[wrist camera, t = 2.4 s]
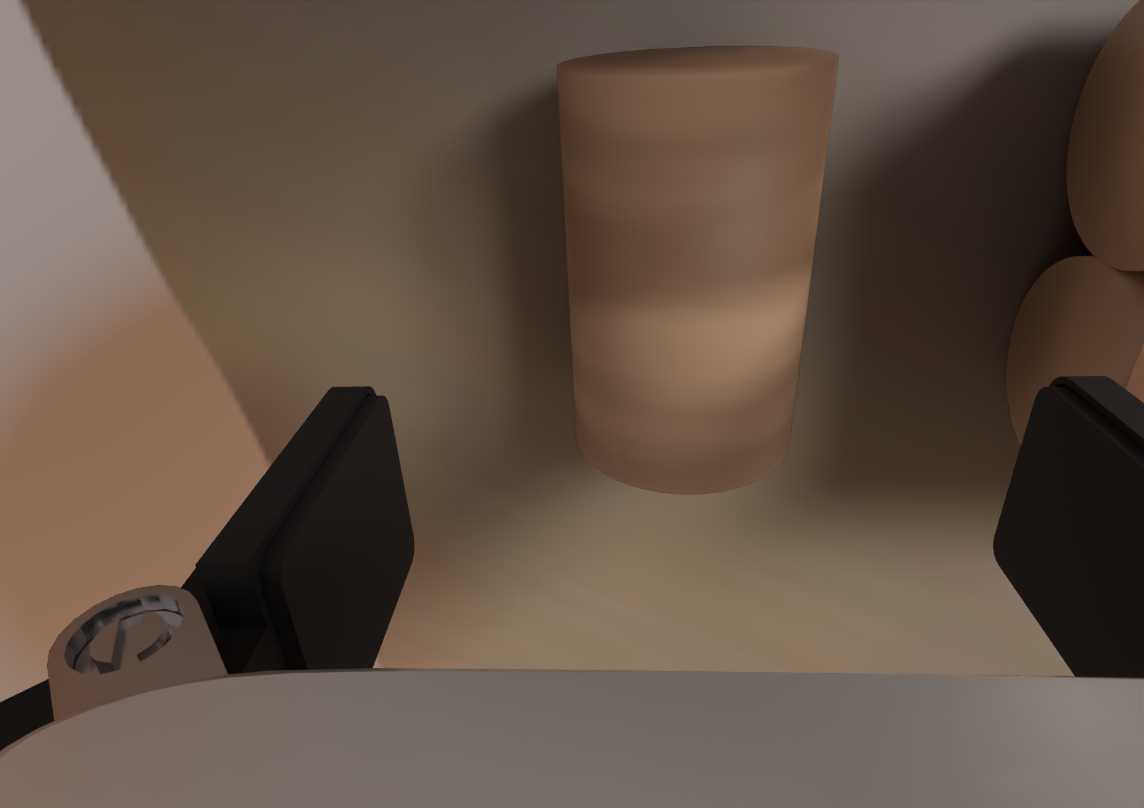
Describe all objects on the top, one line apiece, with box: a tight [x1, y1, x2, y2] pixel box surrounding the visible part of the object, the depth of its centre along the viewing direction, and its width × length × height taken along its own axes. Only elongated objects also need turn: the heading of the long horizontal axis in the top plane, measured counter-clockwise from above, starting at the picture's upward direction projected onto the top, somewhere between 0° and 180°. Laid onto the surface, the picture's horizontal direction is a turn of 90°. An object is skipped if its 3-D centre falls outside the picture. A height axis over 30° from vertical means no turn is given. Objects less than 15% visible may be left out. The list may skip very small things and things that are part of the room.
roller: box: [557, 46, 839, 494], centre depth 15 cm, size 8×5×5 cm, turn 3°
